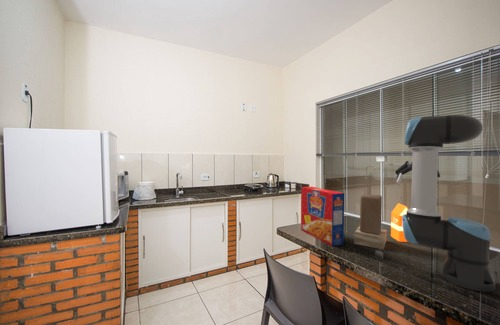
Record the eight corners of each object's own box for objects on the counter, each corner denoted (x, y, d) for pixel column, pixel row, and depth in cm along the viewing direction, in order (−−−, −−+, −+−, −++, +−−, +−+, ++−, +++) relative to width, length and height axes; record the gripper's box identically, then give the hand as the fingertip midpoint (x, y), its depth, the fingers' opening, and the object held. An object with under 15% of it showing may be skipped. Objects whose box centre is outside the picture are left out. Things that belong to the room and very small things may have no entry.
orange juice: (404, 236, 136) (405, 203, 136) (413, 242, 127) (414, 206, 127) (390, 236, 137) (391, 203, 136) (398, 241, 128) (399, 206, 127)
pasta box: (301, 230, 146) (301, 187, 146) (311, 228, 149) (311, 186, 149) (331, 246, 120) (332, 193, 120) (343, 244, 123) (344, 193, 123)
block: (380, 235, 120) (381, 197, 120) (359, 231, 126) (360, 195, 125) (381, 230, 129) (382, 195, 128) (361, 227, 134) (362, 193, 133)
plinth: (383, 249, 116) (383, 238, 116) (353, 243, 125) (354, 232, 124) (386, 240, 130) (386, 229, 129) (359, 235, 138) (359, 225, 137)
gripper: (452, 161, 121) (443, 192, 112) (400, 161, 141) (388, 186, 132) (450, 151, 117) (440, 181, 109) (396, 152, 138) (384, 177, 129)
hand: (412, 184), depth 120 cm, fingers open, 13 cm apart
